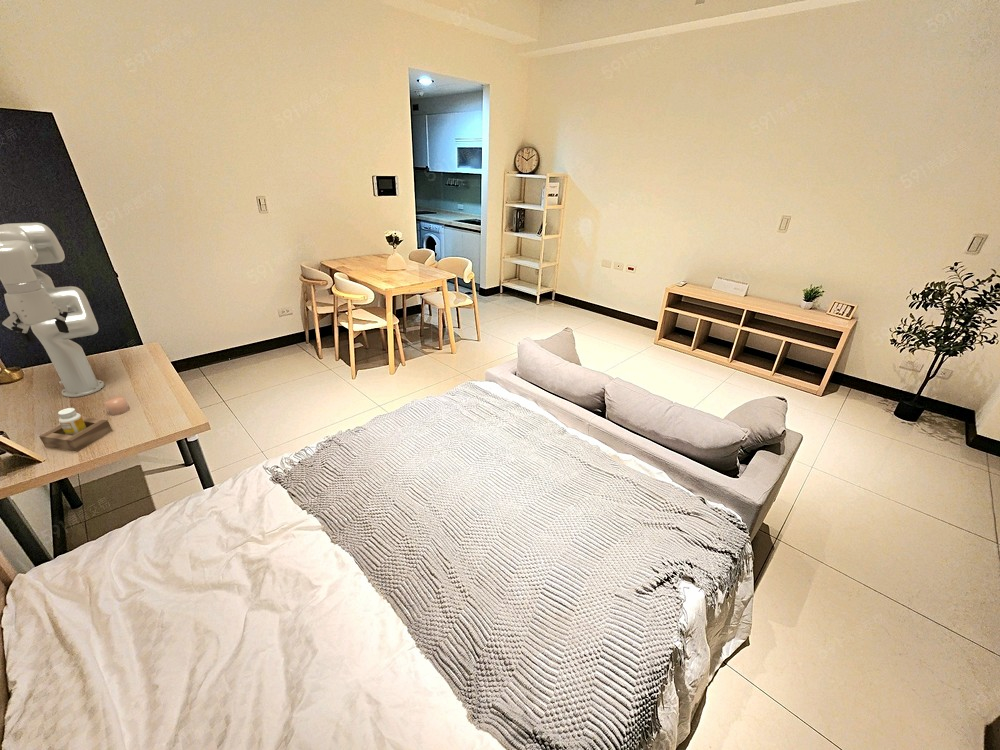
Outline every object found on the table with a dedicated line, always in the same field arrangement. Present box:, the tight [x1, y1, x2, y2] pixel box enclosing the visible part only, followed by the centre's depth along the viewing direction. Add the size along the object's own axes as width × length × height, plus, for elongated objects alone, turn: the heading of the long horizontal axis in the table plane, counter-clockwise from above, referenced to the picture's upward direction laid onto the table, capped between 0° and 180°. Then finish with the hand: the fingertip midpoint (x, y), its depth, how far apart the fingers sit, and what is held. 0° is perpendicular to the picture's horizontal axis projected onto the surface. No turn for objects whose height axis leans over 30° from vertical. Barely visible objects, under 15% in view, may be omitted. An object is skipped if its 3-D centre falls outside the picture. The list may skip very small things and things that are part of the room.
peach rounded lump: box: [103, 395, 130, 416], centre depth 155 cm, size 6×6×5 cm
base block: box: [38, 416, 114, 453], centre depth 140 cm, size 12×12×5 cm
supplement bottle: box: [57, 407, 87, 436], centre depth 138 cm, size 5×5×10 cm
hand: (48, 337), depth 135 cm, fingers open, 9 cm apart
